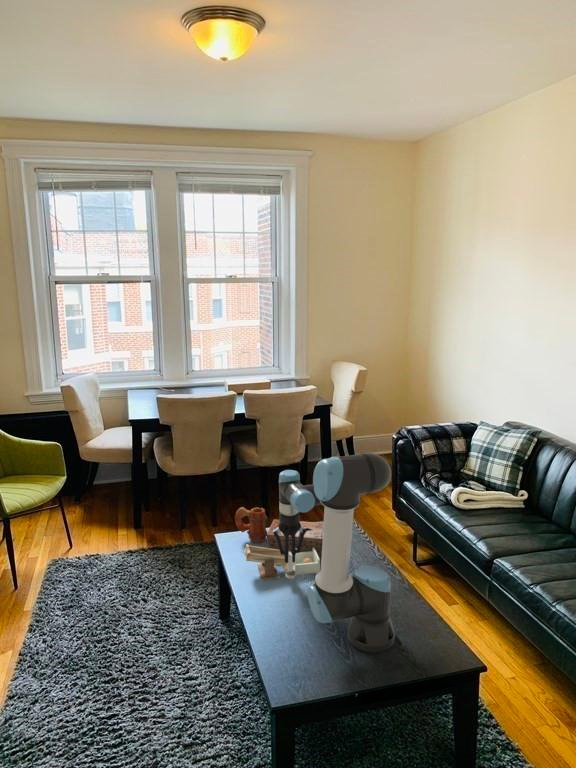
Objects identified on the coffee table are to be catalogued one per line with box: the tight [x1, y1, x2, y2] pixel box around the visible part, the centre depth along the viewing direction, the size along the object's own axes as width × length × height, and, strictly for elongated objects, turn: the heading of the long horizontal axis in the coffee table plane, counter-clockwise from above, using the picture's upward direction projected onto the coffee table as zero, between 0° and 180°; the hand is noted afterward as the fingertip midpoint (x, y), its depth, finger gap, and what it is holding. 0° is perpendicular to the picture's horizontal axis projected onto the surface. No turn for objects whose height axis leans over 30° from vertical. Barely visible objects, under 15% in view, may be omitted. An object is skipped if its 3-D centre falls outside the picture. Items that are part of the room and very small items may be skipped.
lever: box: [244, 543, 295, 579], centre depth 216 cm, size 16×18×3 cm
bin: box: [292, 548, 321, 577], centre depth 223 cm, size 10×11×6 cm
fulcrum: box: [257, 560, 280, 581], centre depth 220 cm, size 10×7×7 cm
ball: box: [303, 558, 312, 563], centre depth 224 cm, size 4×4×4 cm
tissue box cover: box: [266, 518, 324, 562], centre depth 237 cm, size 26×14×10 cm, turn 80°
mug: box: [234, 506, 269, 544], centre depth 246 cm, size 15×8×15 cm, turn 84°
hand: (289, 569), depth 212 cm, fingers closed
